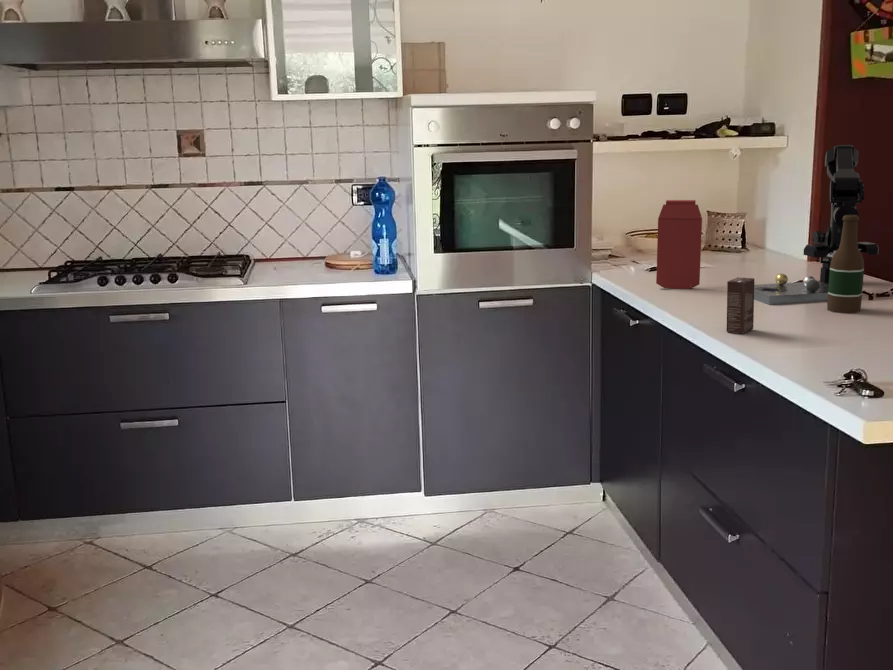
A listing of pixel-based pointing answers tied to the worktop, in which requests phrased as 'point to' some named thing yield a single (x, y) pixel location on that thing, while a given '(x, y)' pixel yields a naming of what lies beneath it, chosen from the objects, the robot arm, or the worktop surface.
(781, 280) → the brass ball
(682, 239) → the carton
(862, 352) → the worktop surface
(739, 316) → the box
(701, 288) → the worktop surface
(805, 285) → the steel ball
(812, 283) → the black ball
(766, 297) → the plate
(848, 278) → the beer bottle
